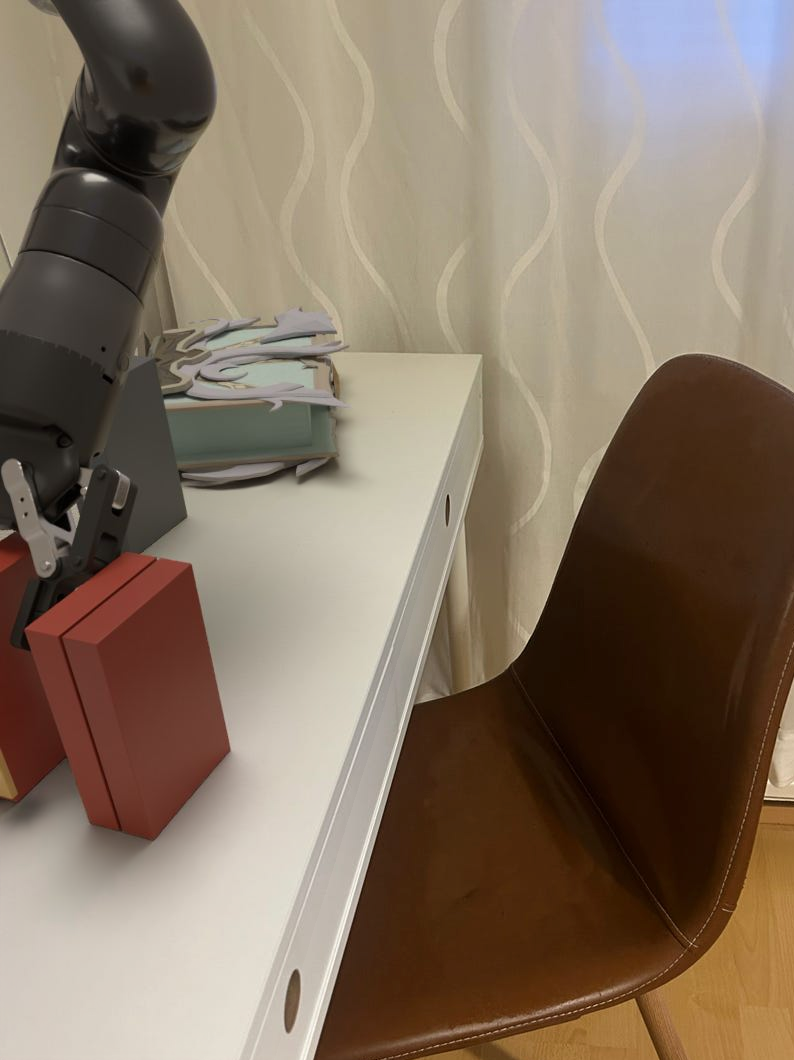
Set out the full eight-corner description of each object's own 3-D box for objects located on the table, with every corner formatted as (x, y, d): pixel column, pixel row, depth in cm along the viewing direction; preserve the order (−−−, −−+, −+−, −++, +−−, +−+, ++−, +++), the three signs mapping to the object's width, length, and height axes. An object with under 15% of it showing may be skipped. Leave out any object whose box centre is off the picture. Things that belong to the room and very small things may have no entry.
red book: (-22, 796, 56) (-103, 605, 48) (72, 710, 62) (13, 530, 55) (15, 806, 55) (-61, 614, 48) (106, 718, 61) (51, 537, 54)
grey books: (89, 551, 80) (43, 385, 72) (147, 509, 86) (110, 352, 78) (132, 559, 78) (90, 391, 70) (188, 515, 85) (155, 357, 77)
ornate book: (153, 396, 111) (112, 503, 86) (135, 311, 106) (87, 398, 81) (350, 383, 114) (366, 482, 89) (342, 299, 109) (356, 379, 84)
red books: (89, 823, 54) (23, 628, 46) (172, 735, 60) (125, 551, 53) (153, 841, 53) (96, 644, 45) (231, 748, 59) (192, 562, 52)
